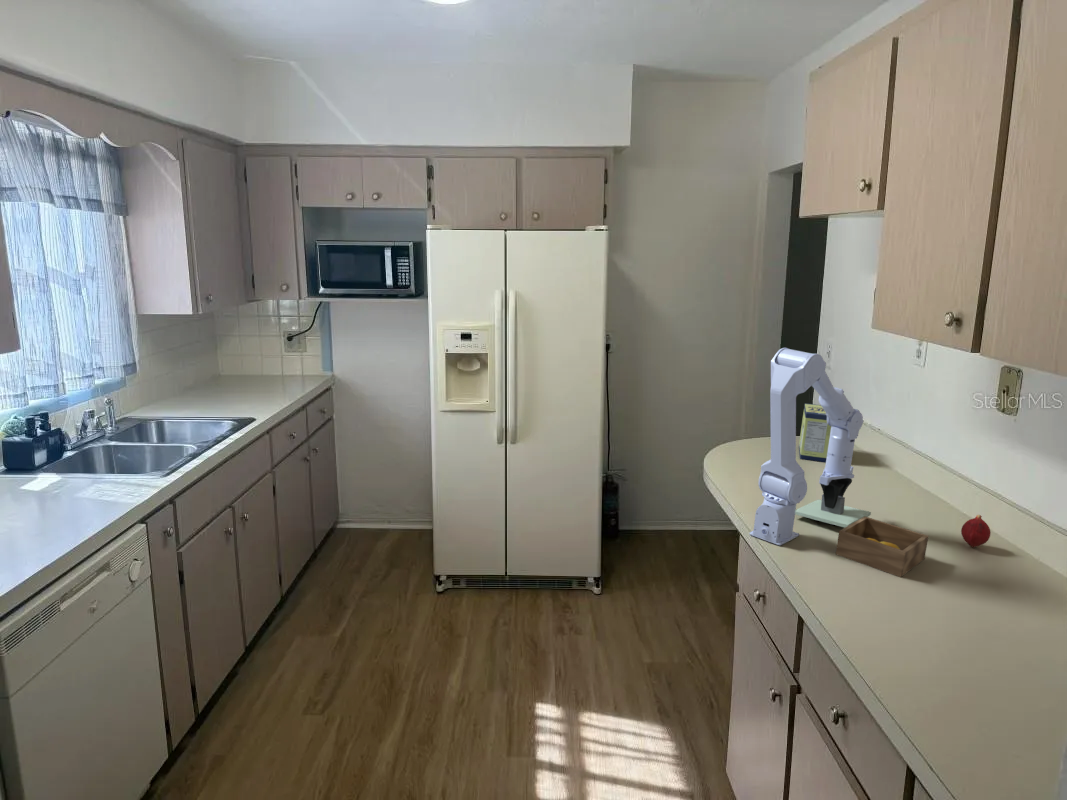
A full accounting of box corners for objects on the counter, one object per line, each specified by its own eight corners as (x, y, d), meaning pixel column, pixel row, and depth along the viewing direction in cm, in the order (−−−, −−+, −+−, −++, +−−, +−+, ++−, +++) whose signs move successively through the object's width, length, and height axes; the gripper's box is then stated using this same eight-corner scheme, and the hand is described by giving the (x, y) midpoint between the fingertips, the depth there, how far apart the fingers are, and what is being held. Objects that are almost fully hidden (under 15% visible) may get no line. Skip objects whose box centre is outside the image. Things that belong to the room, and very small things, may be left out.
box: (900, 577, 152) (905, 552, 150) (835, 554, 161) (839, 531, 160) (924, 559, 161) (928, 535, 160) (861, 538, 171) (865, 516, 170)
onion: (989, 554, 166) (996, 521, 164) (961, 549, 167) (967, 517, 166) (983, 544, 171) (990, 513, 169) (956, 540, 173) (962, 508, 171)
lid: (847, 528, 171) (849, 508, 170) (793, 513, 181) (794, 495, 180) (870, 515, 181) (872, 496, 180) (817, 502, 190) (819, 484, 189)
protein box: (830, 451, 243) (837, 406, 240) (834, 464, 229) (841, 416, 225) (798, 446, 246) (804, 402, 243) (799, 459, 232) (806, 412, 228)
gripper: (843, 463, 170) (834, 517, 173) (868, 453, 179) (859, 504, 183) (814, 456, 175) (806, 508, 178) (840, 446, 184) (832, 496, 188)
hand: (831, 506), depth 180 cm, fingers closed on lid, 2 cm apart
